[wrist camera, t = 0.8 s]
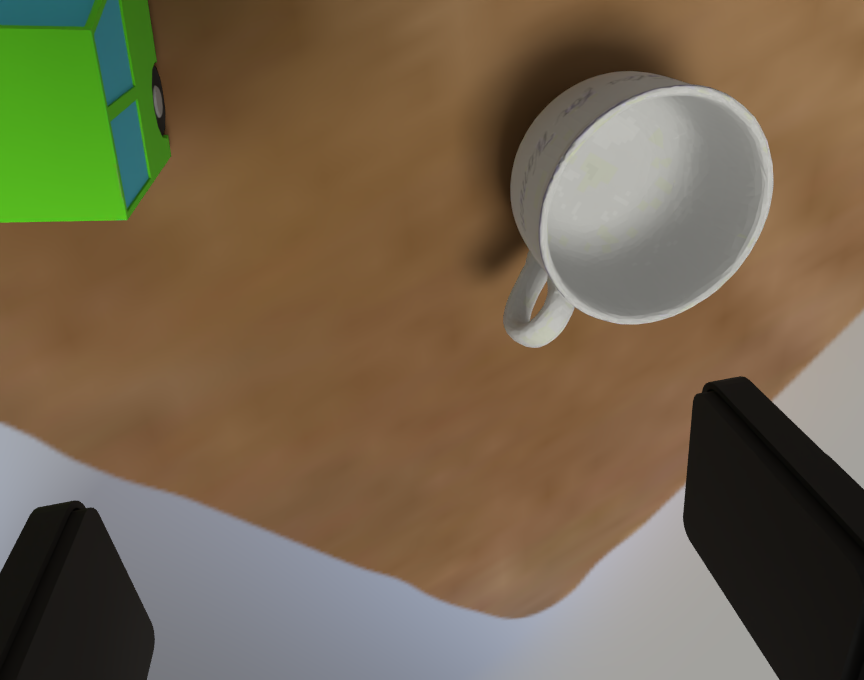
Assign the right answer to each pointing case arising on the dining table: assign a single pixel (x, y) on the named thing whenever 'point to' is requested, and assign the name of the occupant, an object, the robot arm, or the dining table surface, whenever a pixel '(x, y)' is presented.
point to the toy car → (78, 109)
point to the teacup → (634, 201)
